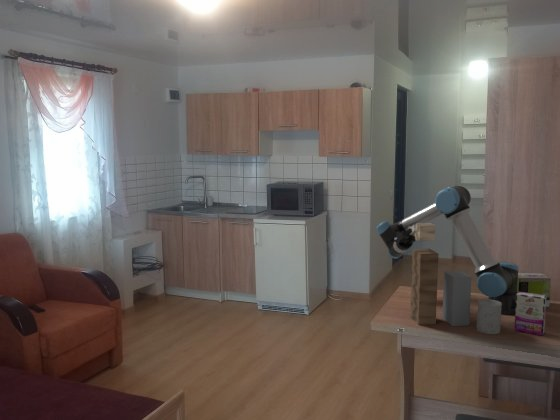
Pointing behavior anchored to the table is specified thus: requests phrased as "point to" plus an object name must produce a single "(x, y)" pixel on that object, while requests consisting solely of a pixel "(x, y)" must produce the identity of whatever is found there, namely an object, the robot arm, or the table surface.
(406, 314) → the table surface
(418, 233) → the tan wooden bar
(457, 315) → the grey pedestal
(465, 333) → the table surface
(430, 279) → the walnut plinth
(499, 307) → the concrete cylinder
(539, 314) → the candy bar box
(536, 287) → the tea box
